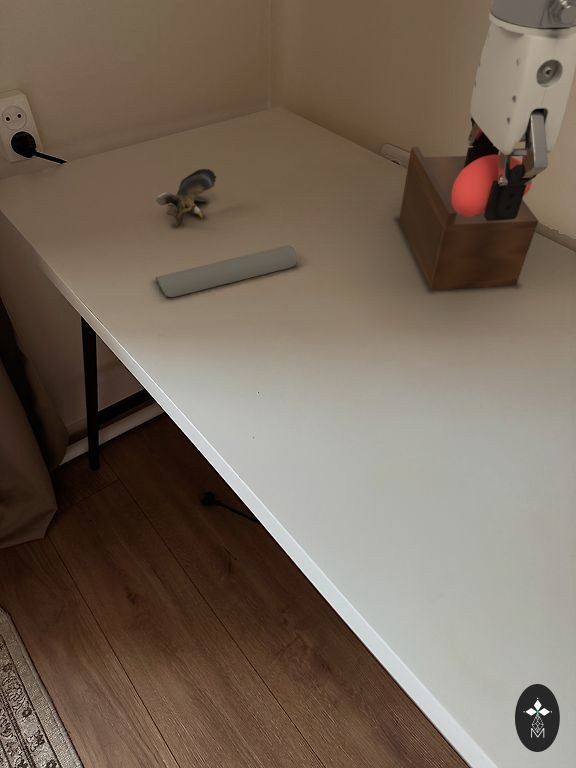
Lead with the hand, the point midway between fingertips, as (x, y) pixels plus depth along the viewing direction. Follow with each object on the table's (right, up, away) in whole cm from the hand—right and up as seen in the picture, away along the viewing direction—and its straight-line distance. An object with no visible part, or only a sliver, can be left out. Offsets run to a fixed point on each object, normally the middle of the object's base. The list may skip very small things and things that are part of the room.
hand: (487, 199), depth 65 cm
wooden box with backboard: (+4, +1, +28) cm, 28 cm away
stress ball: (0, -1, +1) cm, 1 cm away
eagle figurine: (-35, +7, +33) cm, 49 cm away
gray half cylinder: (-29, -4, +22) cm, 36 cm away
